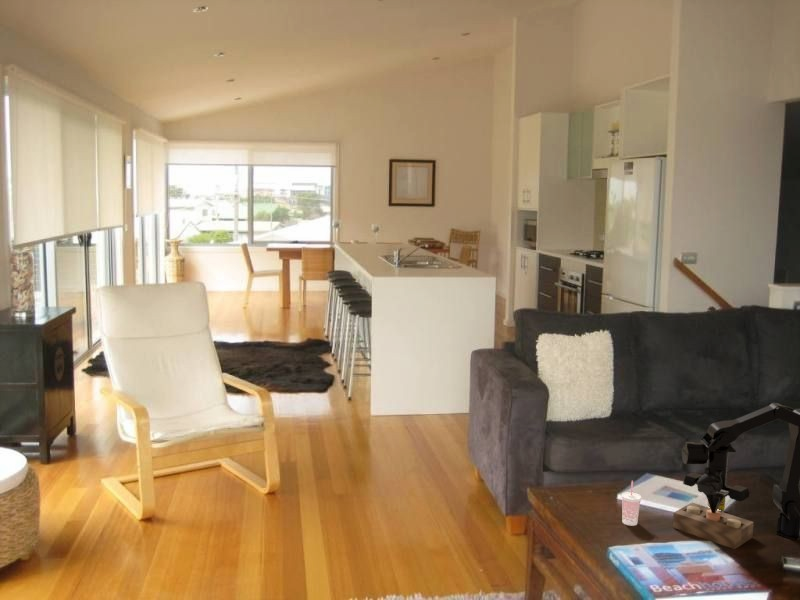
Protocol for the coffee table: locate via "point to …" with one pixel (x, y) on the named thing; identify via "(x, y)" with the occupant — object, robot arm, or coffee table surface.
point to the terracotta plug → (713, 515)
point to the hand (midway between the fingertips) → (713, 512)
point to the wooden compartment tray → (713, 526)
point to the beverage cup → (630, 507)
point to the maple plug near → (733, 523)
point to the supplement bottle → (721, 505)
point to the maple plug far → (693, 510)
